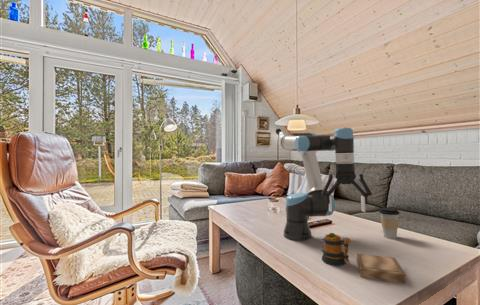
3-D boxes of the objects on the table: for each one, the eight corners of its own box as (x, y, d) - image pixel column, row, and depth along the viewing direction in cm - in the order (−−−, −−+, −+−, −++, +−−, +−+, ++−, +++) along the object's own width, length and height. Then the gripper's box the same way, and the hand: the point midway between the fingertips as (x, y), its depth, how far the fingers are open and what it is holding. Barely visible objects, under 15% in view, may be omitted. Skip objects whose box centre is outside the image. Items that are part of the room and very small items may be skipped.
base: (360, 276, 85) (360, 268, 85) (356, 260, 98) (356, 253, 98) (405, 283, 80) (405, 274, 80) (395, 265, 93) (395, 257, 93)
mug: (316, 259, 101) (315, 232, 101) (331, 253, 106) (330, 228, 106) (342, 271, 89) (341, 241, 90) (358, 264, 95) (357, 236, 95)
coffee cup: (404, 240, 119) (402, 211, 119) (383, 239, 121) (382, 210, 121) (395, 234, 128) (394, 207, 128) (376, 233, 130) (375, 206, 130)
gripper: (316, 164, 101) (318, 212, 101) (379, 162, 96) (381, 213, 96) (314, 163, 108) (316, 208, 108) (372, 162, 104) (374, 209, 103)
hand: (346, 211), depth 102 cm, fingers open, 13 cm apart
